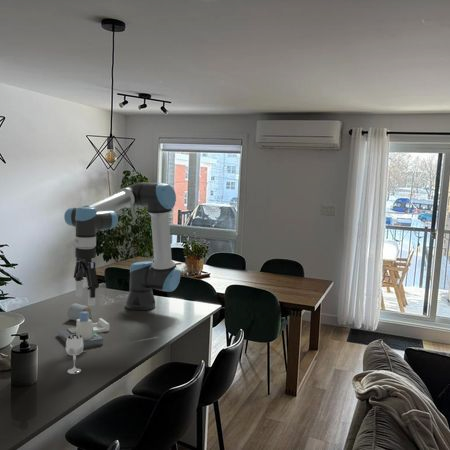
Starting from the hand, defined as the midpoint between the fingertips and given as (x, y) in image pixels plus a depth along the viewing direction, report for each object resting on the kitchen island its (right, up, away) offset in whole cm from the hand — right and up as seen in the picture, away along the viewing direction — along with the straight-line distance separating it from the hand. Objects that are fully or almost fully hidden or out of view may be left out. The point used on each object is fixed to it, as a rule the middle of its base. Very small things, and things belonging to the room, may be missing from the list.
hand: (85, 301), depth 176 cm
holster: (-1, -16, +18) cm, 24 cm away
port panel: (-4, -17, +5) cm, 18 cm away
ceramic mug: (-12, -14, +31) cm, 36 cm away
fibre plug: (-1, -18, +2) cm, 18 cm away
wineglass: (+3, -20, -22) cm, 30 cm away
